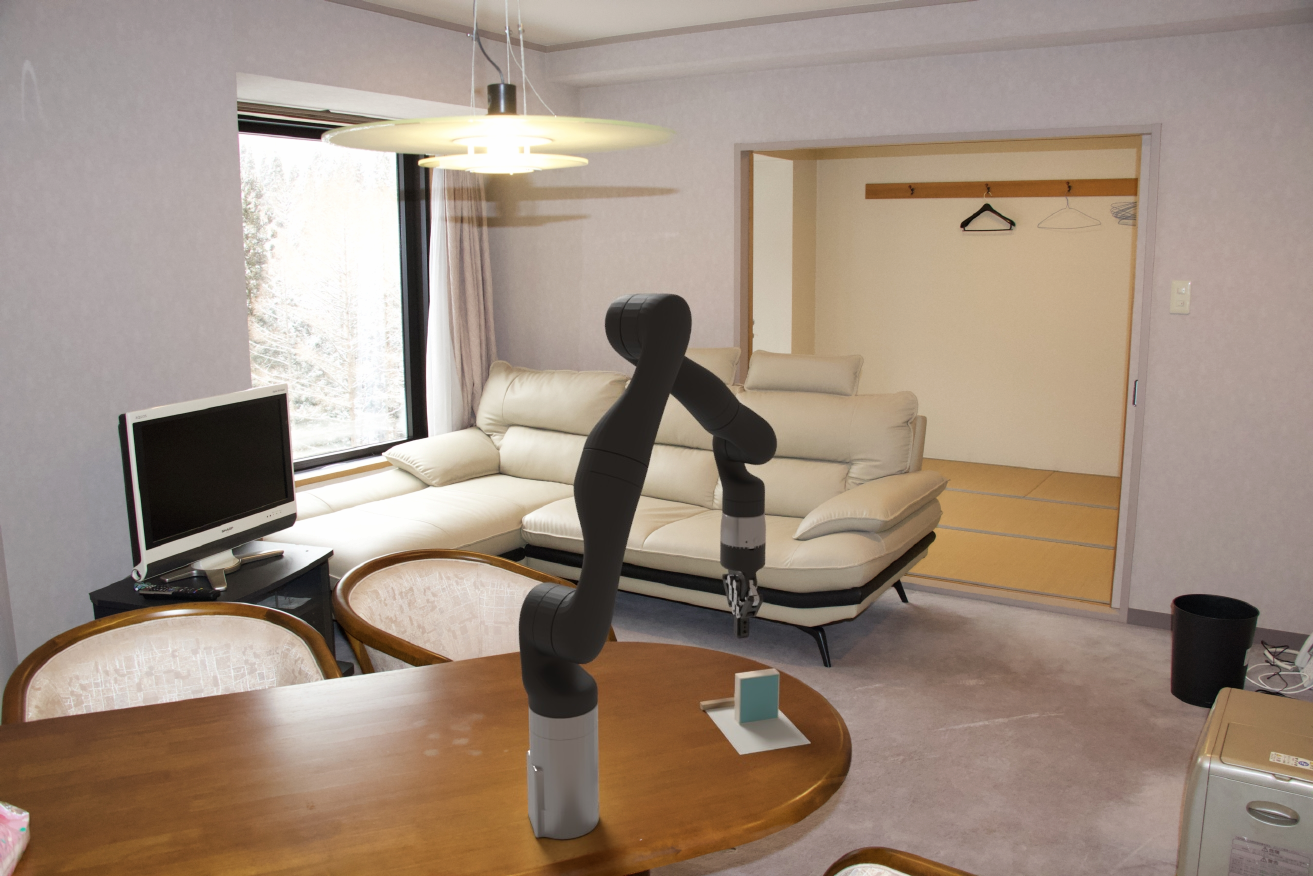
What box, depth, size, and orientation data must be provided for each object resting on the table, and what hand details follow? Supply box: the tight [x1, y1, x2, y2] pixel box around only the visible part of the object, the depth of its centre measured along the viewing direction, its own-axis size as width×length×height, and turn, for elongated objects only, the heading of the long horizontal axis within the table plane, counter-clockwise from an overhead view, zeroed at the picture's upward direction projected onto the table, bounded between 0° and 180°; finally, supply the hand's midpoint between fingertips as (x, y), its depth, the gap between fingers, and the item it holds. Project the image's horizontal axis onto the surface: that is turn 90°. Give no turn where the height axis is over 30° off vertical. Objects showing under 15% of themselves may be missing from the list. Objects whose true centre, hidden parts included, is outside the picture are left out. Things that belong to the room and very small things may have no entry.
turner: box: [699, 693, 735, 712], centre depth 164 cm, size 12×5×1 cm, turn 107°
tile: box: [734, 668, 781, 725], centre depth 158 cm, size 7×2×8 cm, turn 107°
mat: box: [704, 706, 811, 756], centre depth 158 cm, size 12×18×1 cm, turn 17°
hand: (741, 636), depth 164 cm, fingers closed
